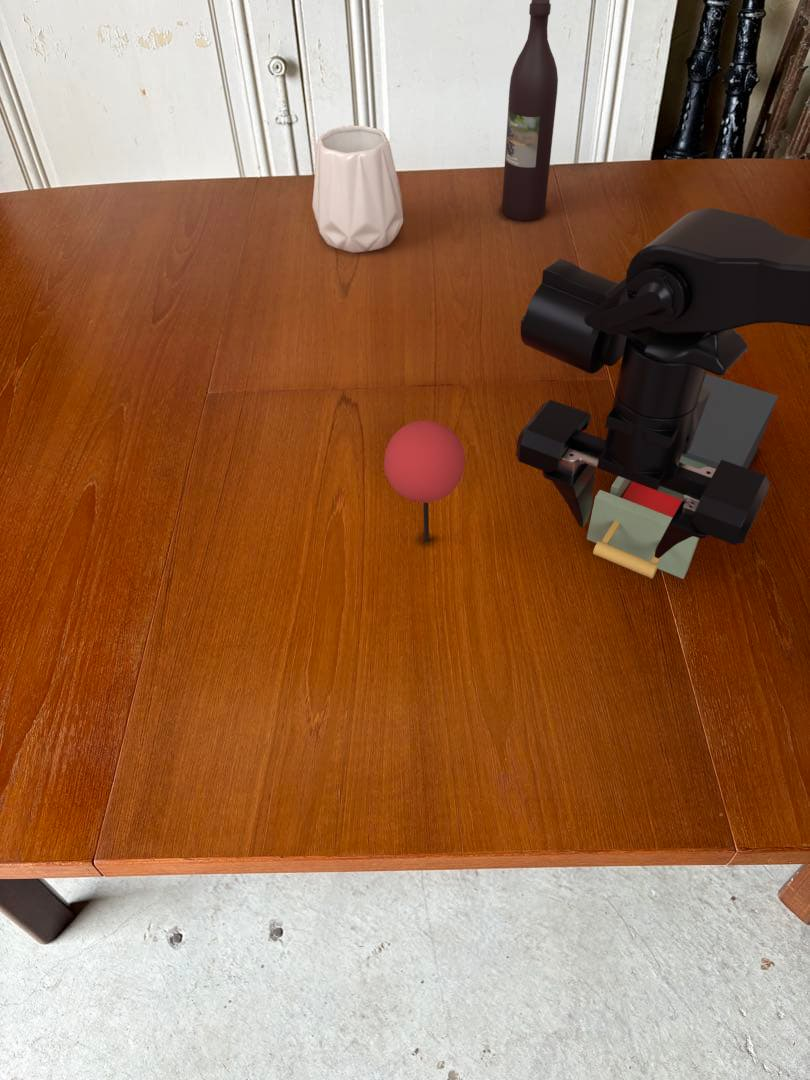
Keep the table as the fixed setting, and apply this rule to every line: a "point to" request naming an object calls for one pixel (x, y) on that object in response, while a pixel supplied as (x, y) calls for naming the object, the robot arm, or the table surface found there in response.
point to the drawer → (637, 531)
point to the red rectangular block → (652, 499)
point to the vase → (356, 189)
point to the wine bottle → (530, 121)
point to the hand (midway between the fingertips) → (620, 538)
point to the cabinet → (731, 423)
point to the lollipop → (424, 463)
